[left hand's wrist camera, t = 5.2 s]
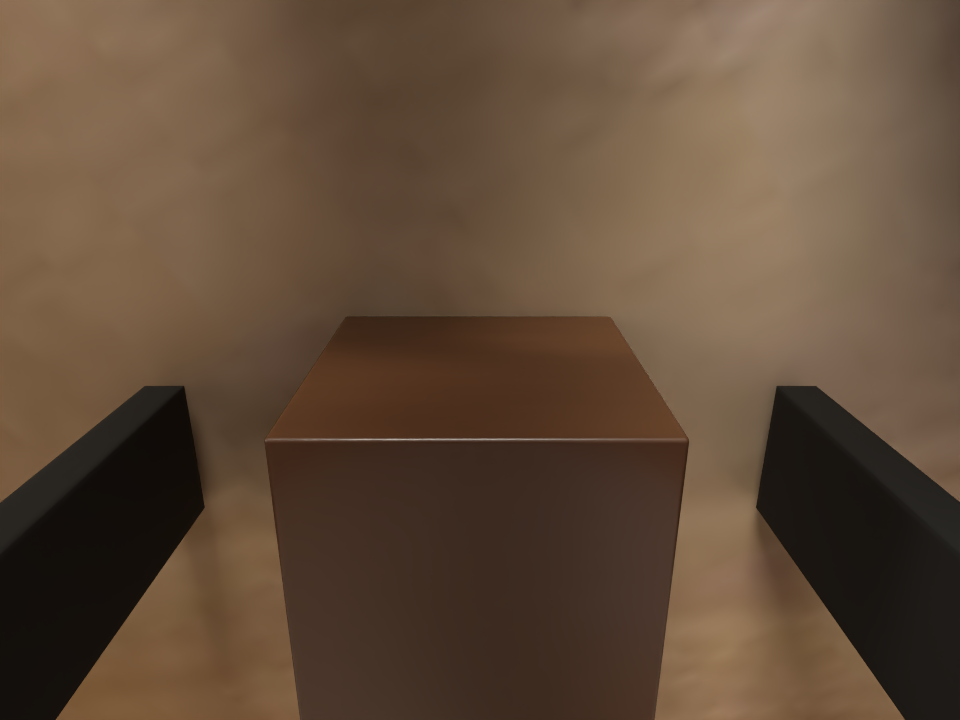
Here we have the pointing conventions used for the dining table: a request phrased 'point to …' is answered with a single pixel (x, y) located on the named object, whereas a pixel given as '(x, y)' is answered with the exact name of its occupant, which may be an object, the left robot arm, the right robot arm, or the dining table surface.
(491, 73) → the dining table surface
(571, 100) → the dining table surface
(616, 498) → the walnut block
